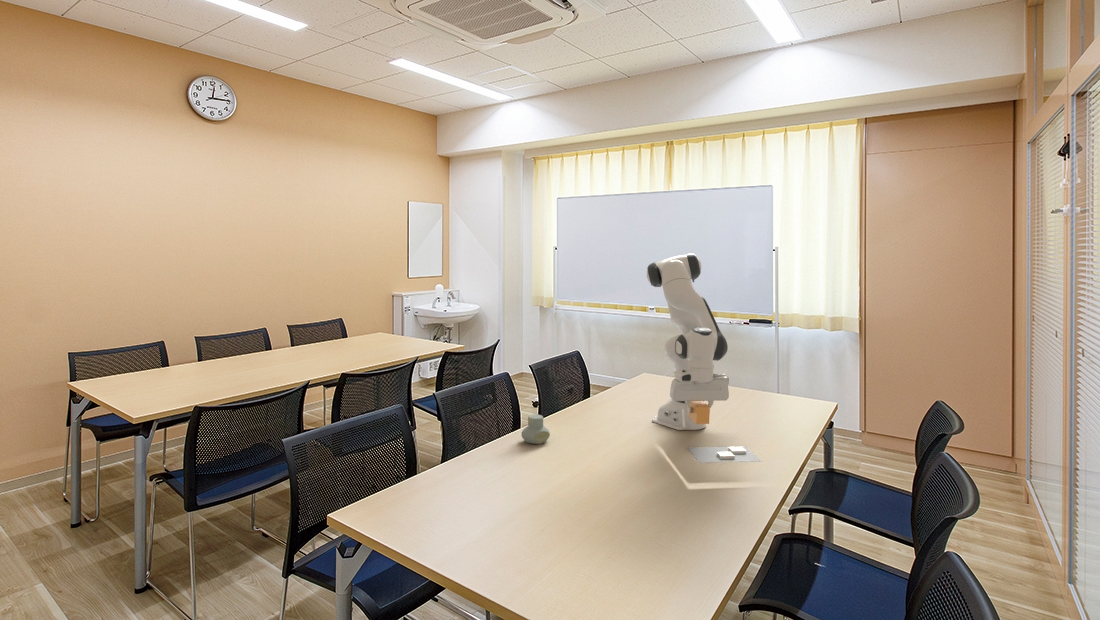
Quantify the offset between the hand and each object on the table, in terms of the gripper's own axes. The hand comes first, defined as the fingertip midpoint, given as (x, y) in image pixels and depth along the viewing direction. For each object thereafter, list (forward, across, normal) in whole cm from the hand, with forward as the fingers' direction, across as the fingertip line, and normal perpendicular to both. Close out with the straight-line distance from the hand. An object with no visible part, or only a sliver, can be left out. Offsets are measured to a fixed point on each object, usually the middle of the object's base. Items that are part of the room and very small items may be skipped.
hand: (698, 412), depth 192 cm
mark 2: (+15, -16, -2) cm, 22 cm away
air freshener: (+17, +57, -20) cm, 63 cm away
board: (+17, -10, 0) cm, 19 cm away
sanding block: (+3, 0, 0) cm, 3 cm away
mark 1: (+15, -10, +2) cm, 18 cm away
